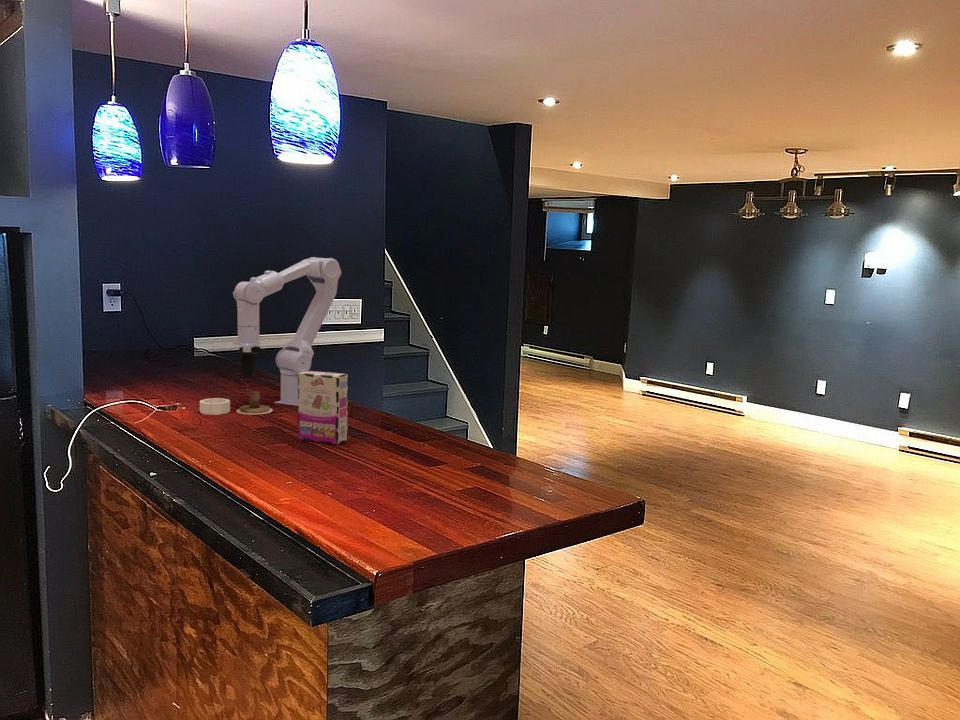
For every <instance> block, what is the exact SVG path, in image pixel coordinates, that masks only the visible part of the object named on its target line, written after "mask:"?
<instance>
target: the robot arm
mask: <svg viewBox="0 0 960 720" xmlns="http://www.w3.org/2000/svg"><path fill="white" fill-rule="evenodd" d="M341 275H342V269H341V267H340V264H339V262H338V260H337V259H335V258H333V257H329V258H328V257H327V258H326V257H325V258H324V257H316V256H311V257H309V258H306V259H303V260H301V261H299V262H298V263H297V262H296V263H295V264H293V265H291V266H289V267H288V268H286V269H283V270H281V271H280V272H277V271H275V270H265V271H263V274H261V275H259V276H255V277H253V276H252V277H251V278H249V279H250V280H249V281H240V282H239V283H237V284H236V285H235V287H234V290H233V291H232V295H233V298H234V299H235V302H236V307H237V340H234V341H233V343H232V345H237V346H240V347H238V349H239V350H237V351H236V356H237V357H238V360H239V362H240V365H241V371H242V375H243V378H253V375H254V374H253V373H254V371H255V367H256V362H257V357H258V355H259V352H260V349H261V346H260V345H261V341H260V303H261V302H262V301H263V299H264V298H266V297H268V296H269V295H270V296H271V294H274V293H276V292H279V291H281V290H282V289H283V287H284V284H286V283H289V282H291V281H294V280H296V279H299V278H302V277H304V276H306V277H307V278H308V279H309V282H310V283H311V284H312V285H313V287H314V288H315V295H314V296H313V298H312V300H311V302H310V304H309V306H308V308H307V310H306V312H305V314H304V316H303V318H302V320H301V323H300V324H299V326H298V328H297V331H296V333H295V335H294V337H293V338H292V339H291V340H288V341H287V342H286V343H285V345H284V346H283V348H282V349H281V350H279V351H278V352H277V354H276V355H275V356H276V357H275V363H276V366H277V367H278V368H279V372H280V400H278V401H274V403H275V404H282V405H291V406H297V407H298V373H301V372H305V371H310V369H311V368H312V361H313V360H312V358H313V356H314V355H315V353H314V349H313V348H312V345H313V343H314V341H315V339H316V336H317V334H318V332H319V331H320V328H321V327H322V325H323V323H324V321H325V318H326V316H327V315H328V312H329V310H330V308H331V306H332V304H333V302H334V300H335V297H336V296H337V292H338V285H339V279H340V278H341Z"/></svg>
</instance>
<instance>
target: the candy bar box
mask: <svg viewBox="0 0 960 720" xmlns="http://www.w3.org/2000/svg"><path fill="white" fill-rule="evenodd" d="M348 377H349V374H348V373H339V372H329V371H327V372H326V371H316V370H315V371H314V370H308V371H305V372H301V373H298V406H297V407H298V409H297V410H298V411H297V412H298V413H297V417H298V418H297V420H298V421H297V423H298V424H297V431H298V433H297V435H298V436H297V437H298V438H297V439H298V440H299V441H308V442H316V443H322V444H331V445H340V444H342V443H345V442H347V441H348V424H349V423H348V419H349V418H348V413H349V412H348V409H349V407H348V405H349V404H348V403H349V399H348V397H349V378H348Z"/></svg>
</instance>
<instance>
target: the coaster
mask: <svg viewBox="0 0 960 720" xmlns="http://www.w3.org/2000/svg"><path fill="white" fill-rule="evenodd" d="M273 411H274V410H273V408H271V407H270V411H268V412H265V413H256V414H255V415H264V414H270V413H271V412H273ZM236 413H238V414H244V415H251V414H250V413H242V412H240V411H239V408H238V409H236Z"/></svg>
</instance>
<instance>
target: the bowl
mask: <svg viewBox="0 0 960 720" xmlns="http://www.w3.org/2000/svg"><path fill="white" fill-rule="evenodd" d="M199 412H200V414H202V415H210V416H215V415H218V416H219V415H225V414H229V413H230V412H231V400H230V399H229V398H221V397H218V398H217V397H215V398H204V399H201V400H199Z"/></svg>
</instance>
